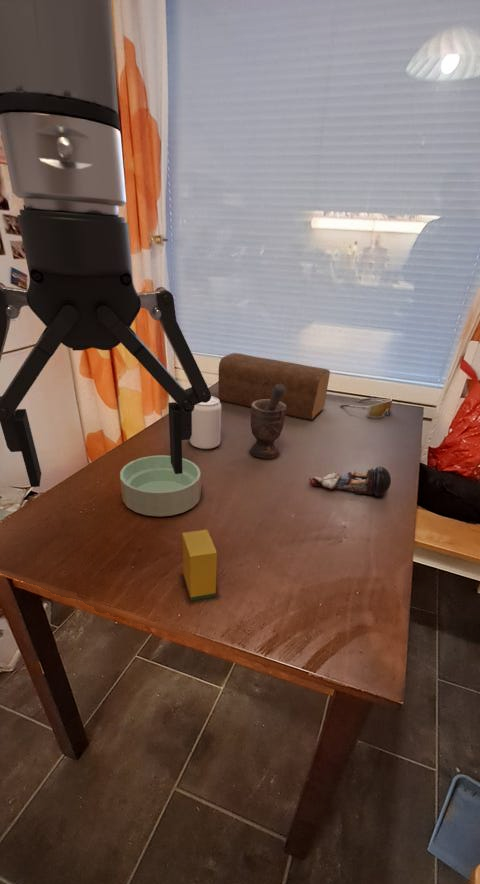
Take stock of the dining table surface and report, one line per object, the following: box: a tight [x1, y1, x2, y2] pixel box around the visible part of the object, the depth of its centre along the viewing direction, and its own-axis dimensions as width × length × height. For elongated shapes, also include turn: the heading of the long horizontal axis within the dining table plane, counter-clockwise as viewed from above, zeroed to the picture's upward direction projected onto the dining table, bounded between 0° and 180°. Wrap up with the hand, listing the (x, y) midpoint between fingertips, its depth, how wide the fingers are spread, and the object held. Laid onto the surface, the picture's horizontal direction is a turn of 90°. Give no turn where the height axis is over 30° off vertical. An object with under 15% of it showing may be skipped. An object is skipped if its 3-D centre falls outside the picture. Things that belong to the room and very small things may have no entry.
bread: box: [217, 352, 331, 421], centre depth 138 cm, size 14×34×14 cm, turn 65°
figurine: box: [308, 465, 392, 497], centre depth 96 cm, size 8×7×18 cm
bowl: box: [119, 454, 202, 518], centre depth 88 cm, size 16×16×6 cm
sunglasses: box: [340, 397, 393, 419], centre depth 142 cm, size 14×15×5 cm
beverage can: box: [189, 395, 222, 450], centre depth 110 cm, size 8×8×12 cm
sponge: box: [181, 529, 218, 602], centre depth 66 cm, size 4×6×9 cm, turn 17°
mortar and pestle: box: [249, 384, 286, 460], centre depth 103 cm, size 12×9×20 cm
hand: (109, 474), depth 42 cm, fingers open, 13 cm apart
